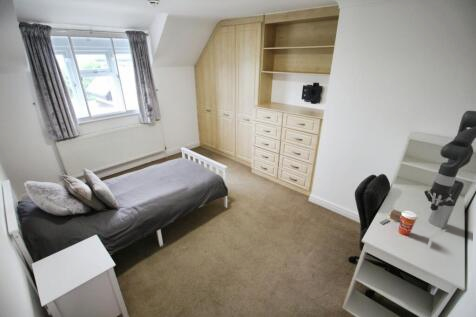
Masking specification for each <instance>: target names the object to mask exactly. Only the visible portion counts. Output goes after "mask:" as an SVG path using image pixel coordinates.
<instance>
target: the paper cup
mask: <svg viewBox="0 0 476 317" xmlns="http://www.w3.org/2000/svg"><path fill="white" fill-rule="evenodd" d="M401 212H402V214H401V217H400V218H401V221H400V222H399V227H398V233H399V234H400V235H403V236H406V237H407V236H409V235H410V234H411V232H412V230H413V227H414V225H415V222H416V220H418V218H419V217H418V216H417V214H416V213H415V212H413V211H410V210H404V211H401Z"/></svg>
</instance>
